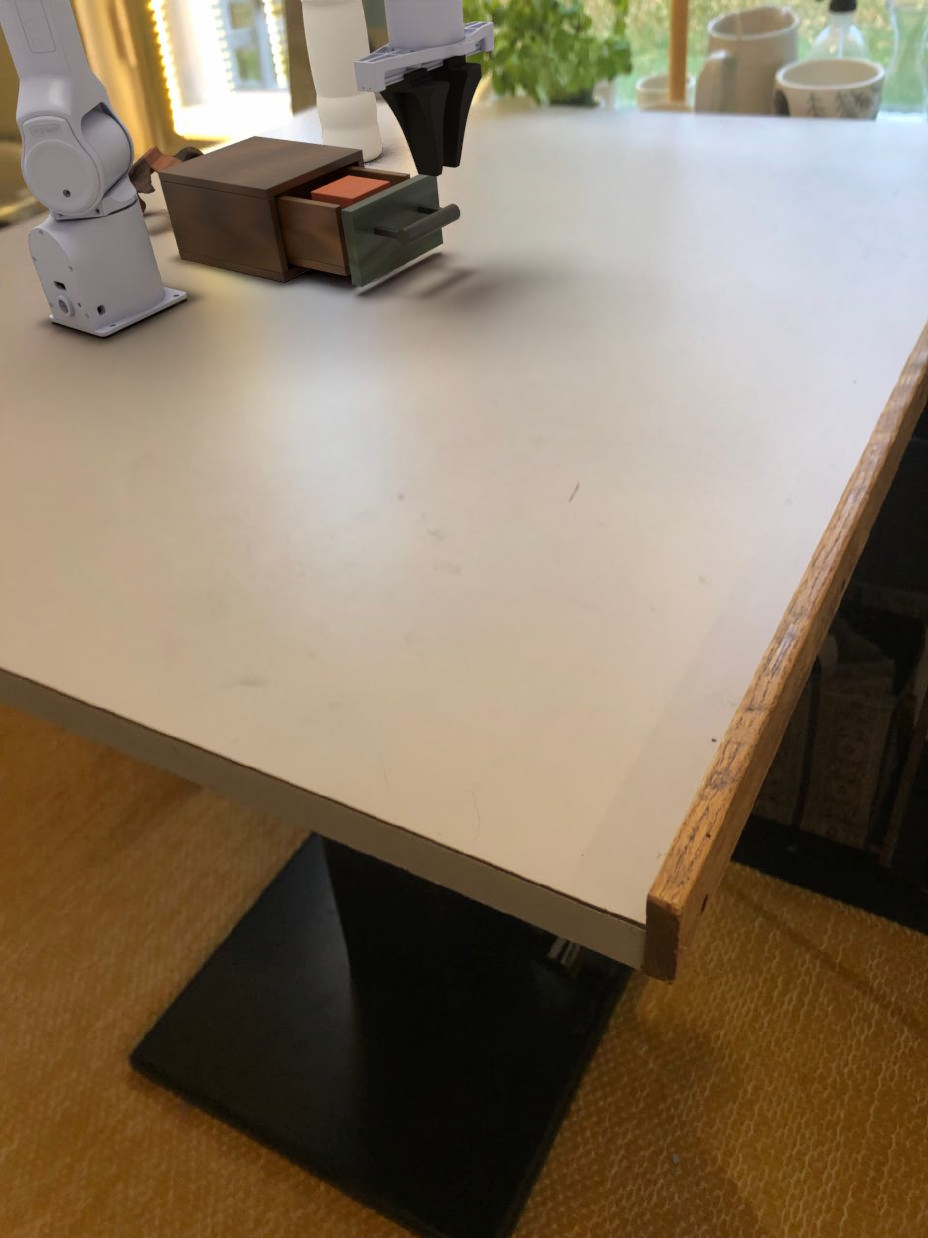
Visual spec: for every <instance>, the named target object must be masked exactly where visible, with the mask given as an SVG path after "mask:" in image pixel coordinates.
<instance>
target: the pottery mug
mask: <svg viewBox="0 0 928 1238" xmlns="http://www.w3.org/2000/svg"><path fill="white" fill-rule="evenodd" d="M204 154H205V153H204V152H203V151H202V150H200V149H199V148H197V147H195V146H186V147H183V148H182V149H180V150H179V151H178V152H177V153H175V154H173V155H168V154H163V152H162V151H161V149H159V147H158V146H157V145H155V146H153V147H150V148H149V149H148V150H147V151H146V152H144V154H142V155H141V156H140V157H139V158H138V159H137V160H136V161H135V162H133V165H132V167H131V169H130V171H129V172H128V176H129V180H130V182H131V183H132V185H133V186H134V188H135V189H136V192H137V195H138V196H137V197H138V199H139V202H140V206H141V209H142V213H143V214H144V213H145V212H146V209H147V203H146V201H145V200H144V199H142V197H141V196H140V194H144V195H149V194H153V193H155V192H156V189H155V187H154V185H153V184H152V183H153V182H152V174H154V173H156V174H158V171H160V170H163V169H166V168H169V167H171V166H174V165H177V164H180V163H182V162H185V161H188V160H190V159H193V158H196V157H199V156H201V155H204Z"/></svg>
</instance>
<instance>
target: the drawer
mask: <svg viewBox="0 0 928 1238" xmlns="http://www.w3.org/2000/svg"><path fill="white" fill-rule="evenodd" d="M346 176H355V177H362V178H369V179H376V180H382V181H389V182H390V188H388V189H386V190H384V191H382V192H379V193H377V194H375V195H373V196H371V197H369V198H366V199H364V200H362V201H360V202H358V203H355V204H353V205H351V206H349V207H347V208H345V209H342V208H341V205H336V204H330V203H325V202H319V201H313V200H312V195H311V192H312V191H314V190H316V189H318V188H321V187H323V186H325V185H328V184H330V183H332V182H335V181H337V180H339V179H342V178H344V177H346ZM438 185H439V184H438V176H436V177H435V176H428V175H420V174H416V175H414V176H412V177H411V174H410V173H406V172H398V171H392V170H385V169H378V168H370V167H365V168H364V167H357V166H350V165H346V166H344V167H342V168H339V169H337V170H335V171H332V172H330V173H328V174H325V175H323V176H320V177H318V178H316V179H313V180H311V181H309V182H306V183H304V184H302V185H299V186H297V187H294V188H292V189H290V190H287V191H285V192H283V193H280V194H278V195H276V196H273V197H274V201H275V206H276V211H277V216H278V221H279V226H280V231H281V236H282V241H283V246H284V251H285V256H286V261H287V263H288V264H293V265H297V266H302V267H307V268H311V269H310V270H316V271H320V272H321V271H322V272H326V273H330V274H335V275H338V276H339V275H340V276H344V277H348V276H349V275H350V278H351V284H352V285H353V286H356V287H362V288H363V287H365V286H367V285H369V284H370V283H373V282H374V281H376V280H378V279H380V278H382V277H384V276H386V275H388V274H389V273H391V272H393V271H395V270H397V269H399V268H400V267H403V266H404V265H406V264H408V263H409V262H411V261H414V260H416V259H417V258H419V257H421V256H422V255H425V254H426V253H429V252H430V251H432V250H434V249H435V248H436V249H437V247H439V246H441V245H443V244H444V239H443V228H444V227H446V226H448V225H450V224H452V223H454V222H456V221H458V220H459V219H460V218H461V210H460V207H459V206H458V204H456V203H450V204H448V205H446V206H444V207H441V205H440V195H439V186H438Z"/></svg>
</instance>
